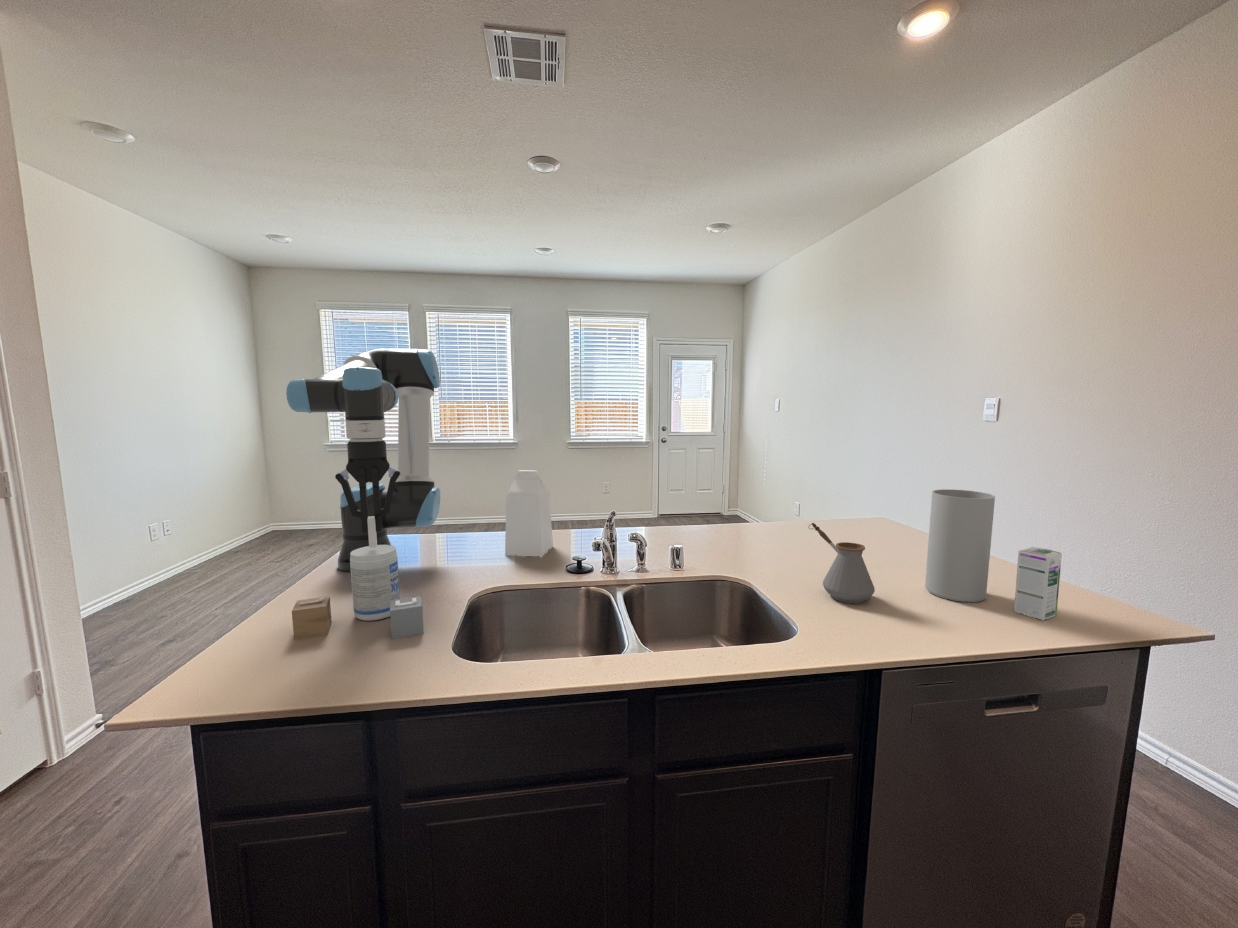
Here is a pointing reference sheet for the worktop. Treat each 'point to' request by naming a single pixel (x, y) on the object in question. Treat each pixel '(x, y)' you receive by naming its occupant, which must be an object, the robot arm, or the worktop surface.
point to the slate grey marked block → (406, 617)
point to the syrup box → (1037, 582)
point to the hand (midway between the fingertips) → (373, 545)
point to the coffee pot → (847, 572)
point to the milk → (528, 516)
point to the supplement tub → (374, 581)
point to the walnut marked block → (311, 617)
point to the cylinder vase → (959, 544)
